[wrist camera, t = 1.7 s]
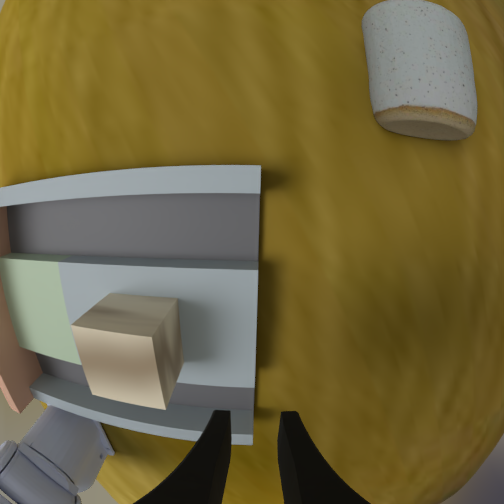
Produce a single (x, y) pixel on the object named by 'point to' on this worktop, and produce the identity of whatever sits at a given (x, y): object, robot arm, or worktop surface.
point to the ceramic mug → (420, 70)
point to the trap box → (134, 286)
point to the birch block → (131, 348)
